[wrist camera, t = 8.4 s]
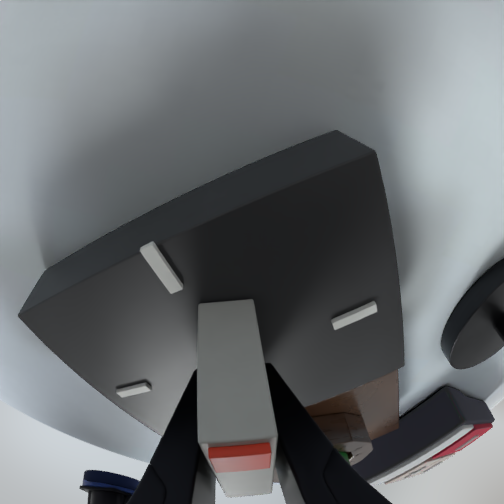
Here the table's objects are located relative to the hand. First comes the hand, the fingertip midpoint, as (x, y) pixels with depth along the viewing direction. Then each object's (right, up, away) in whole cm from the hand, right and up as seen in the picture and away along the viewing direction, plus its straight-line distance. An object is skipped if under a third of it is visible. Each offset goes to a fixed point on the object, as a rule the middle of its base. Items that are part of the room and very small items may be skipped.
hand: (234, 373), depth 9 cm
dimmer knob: (0, 0, 0) cm, 0 cm away
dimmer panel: (0, +2, +3) cm, 3 cm away
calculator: (+17, -13, +14) cm, 26 cm away
